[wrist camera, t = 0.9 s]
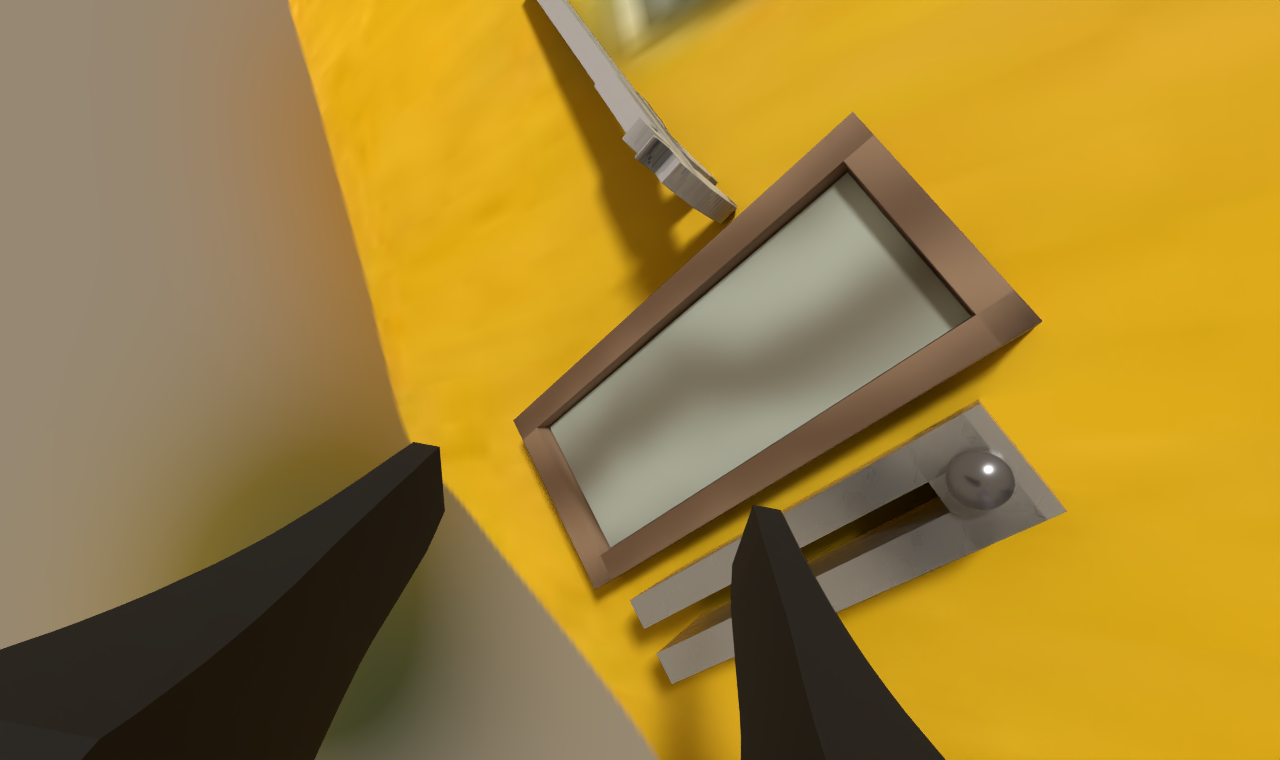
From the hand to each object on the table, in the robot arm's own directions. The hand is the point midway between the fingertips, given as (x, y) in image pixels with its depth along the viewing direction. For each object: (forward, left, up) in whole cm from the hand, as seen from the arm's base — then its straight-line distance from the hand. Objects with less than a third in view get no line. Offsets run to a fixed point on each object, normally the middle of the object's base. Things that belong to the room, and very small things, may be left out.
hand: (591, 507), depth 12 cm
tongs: (-4, 0, -12) cm, 13 cm away
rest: (+3, 0, -12) cm, 13 cm away
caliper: (+19, -4, -13) cm, 23 cm away
